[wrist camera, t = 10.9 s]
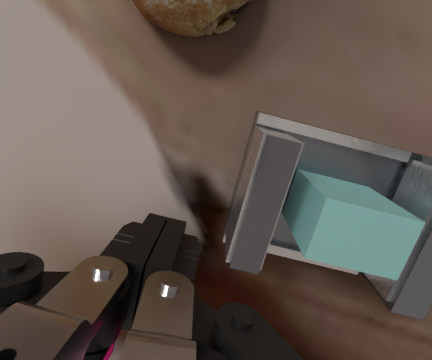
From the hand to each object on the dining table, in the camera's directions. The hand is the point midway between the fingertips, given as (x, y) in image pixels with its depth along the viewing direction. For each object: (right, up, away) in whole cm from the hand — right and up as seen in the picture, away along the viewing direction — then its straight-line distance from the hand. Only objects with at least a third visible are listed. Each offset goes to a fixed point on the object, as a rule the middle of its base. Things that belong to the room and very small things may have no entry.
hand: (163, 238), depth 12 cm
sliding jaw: (+5, +2, +12) cm, 13 cm away
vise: (+11, +1, +14) cm, 18 cm away
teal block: (+11, +1, +12) cm, 17 cm away
